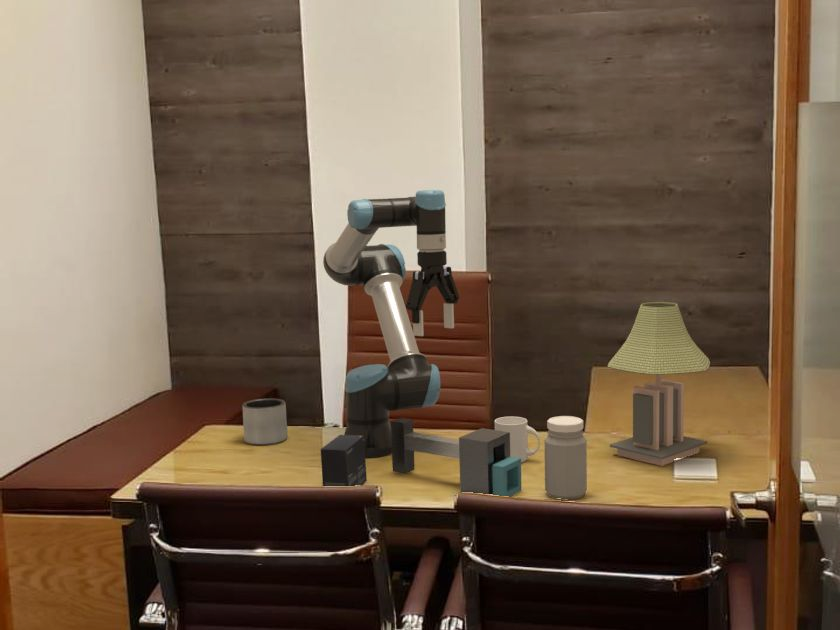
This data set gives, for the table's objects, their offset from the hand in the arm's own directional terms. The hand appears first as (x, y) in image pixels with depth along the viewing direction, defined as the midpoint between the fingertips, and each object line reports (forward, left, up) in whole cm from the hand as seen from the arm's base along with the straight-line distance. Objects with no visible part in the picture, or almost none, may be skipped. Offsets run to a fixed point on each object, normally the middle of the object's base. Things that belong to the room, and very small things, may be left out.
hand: (434, 331), depth 267 cm
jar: (+42, -7, -35) cm, 55 cm away
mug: (+18, +11, -35) cm, 41 cm away
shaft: (+11, -14, -34) cm, 38 cm away
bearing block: (+24, -14, -35) cm, 44 cm away
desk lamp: (+47, +35, -35) cm, 68 cm away
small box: (-6, -31, -35) cm, 47 cm away
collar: (+30, -14, -31) cm, 45 cm away
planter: (-55, -9, -35) cm, 66 cm away
